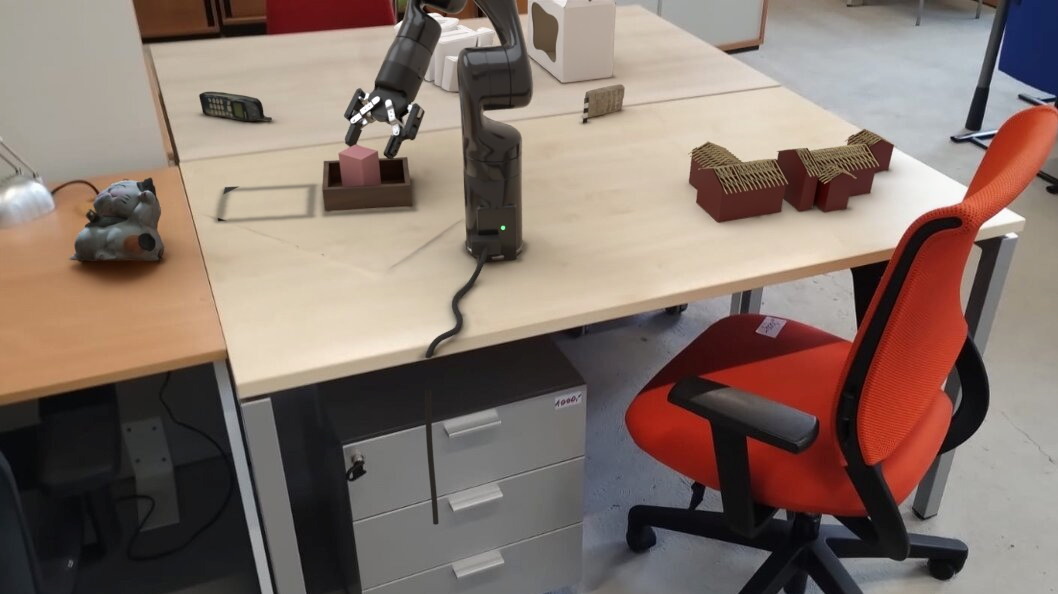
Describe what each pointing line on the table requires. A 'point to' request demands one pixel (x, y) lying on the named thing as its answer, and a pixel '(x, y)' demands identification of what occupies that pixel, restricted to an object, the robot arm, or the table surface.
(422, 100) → the table surface
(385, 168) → the crate
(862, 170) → the toy houses
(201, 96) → the mobile phone
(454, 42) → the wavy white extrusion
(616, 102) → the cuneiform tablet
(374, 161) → the block
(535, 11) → the gable box
